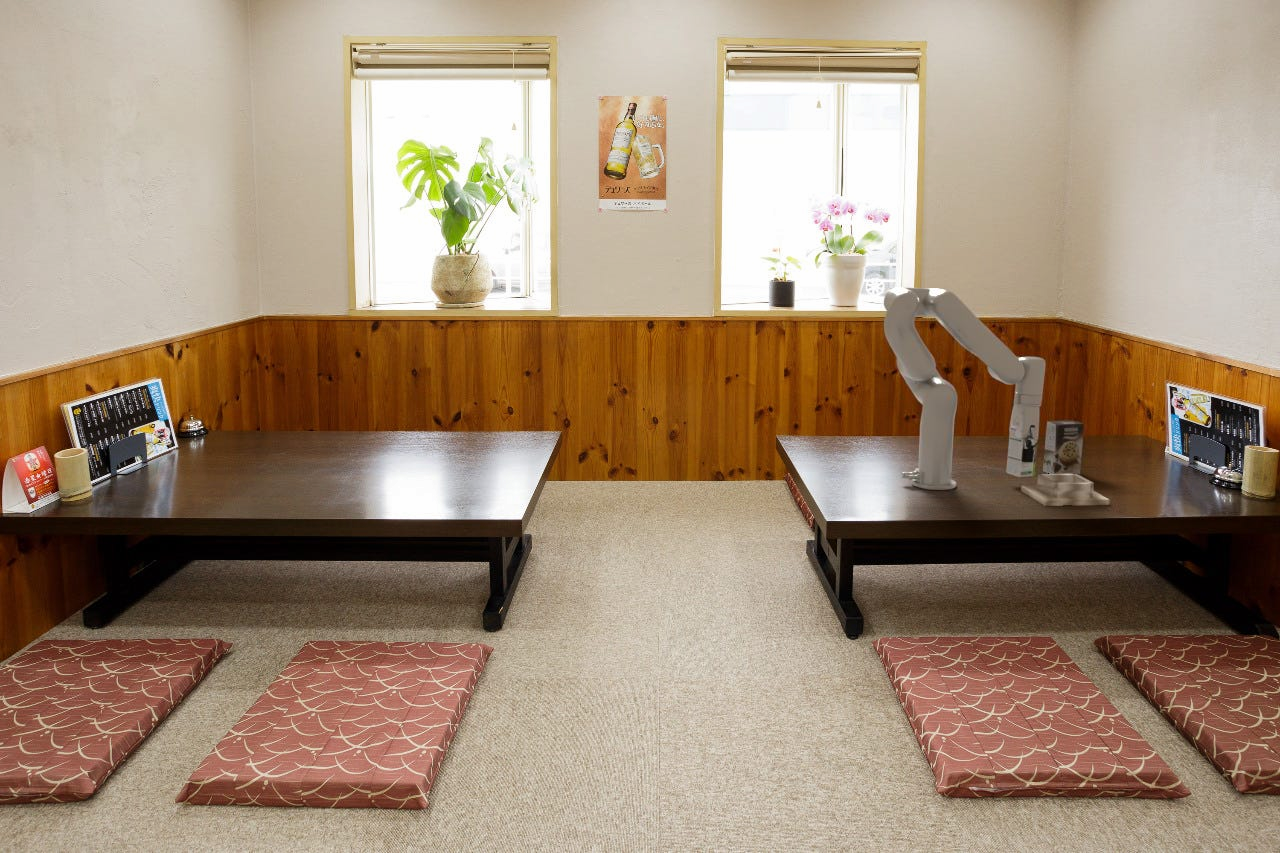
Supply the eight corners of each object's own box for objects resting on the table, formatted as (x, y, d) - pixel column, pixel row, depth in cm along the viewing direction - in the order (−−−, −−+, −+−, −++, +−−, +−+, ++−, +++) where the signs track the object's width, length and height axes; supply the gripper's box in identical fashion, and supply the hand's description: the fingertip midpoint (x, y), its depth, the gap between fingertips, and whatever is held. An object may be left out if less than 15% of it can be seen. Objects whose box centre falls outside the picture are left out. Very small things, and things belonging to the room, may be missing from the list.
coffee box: (1054, 476, 315) (1058, 424, 312) (1042, 471, 321) (1045, 420, 318) (1081, 474, 317) (1085, 423, 314) (1068, 469, 323) (1072, 419, 320)
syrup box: (1019, 477, 300) (1024, 428, 297) (1005, 472, 306) (1010, 424, 303) (1034, 476, 302) (1040, 427, 300) (1020, 471, 308) (1025, 424, 305)
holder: (1044, 505, 283) (1046, 486, 282) (1021, 490, 299) (1022, 472, 298) (1109, 504, 284) (1110, 485, 283) (1082, 489, 299) (1083, 471, 298)
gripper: (1003, 394, 308) (997, 452, 311) (1027, 404, 291) (1021, 465, 294) (1028, 394, 308) (1022, 452, 312) (1053, 405, 291) (1046, 466, 295)
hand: (1021, 458), depth 303 cm, fingers closed on syrup box, 7 cm apart
